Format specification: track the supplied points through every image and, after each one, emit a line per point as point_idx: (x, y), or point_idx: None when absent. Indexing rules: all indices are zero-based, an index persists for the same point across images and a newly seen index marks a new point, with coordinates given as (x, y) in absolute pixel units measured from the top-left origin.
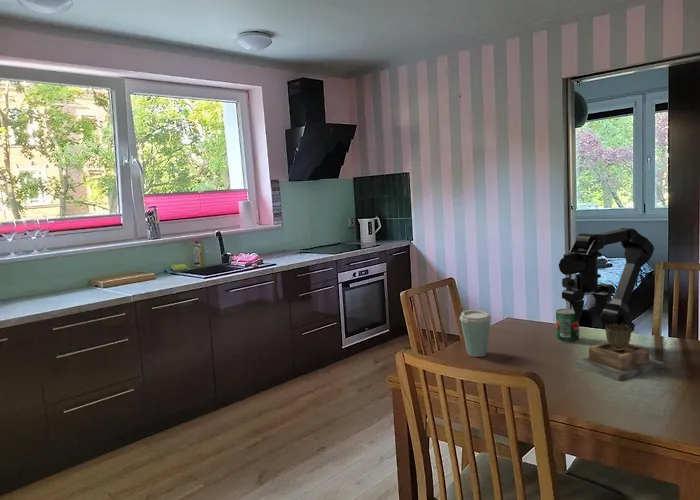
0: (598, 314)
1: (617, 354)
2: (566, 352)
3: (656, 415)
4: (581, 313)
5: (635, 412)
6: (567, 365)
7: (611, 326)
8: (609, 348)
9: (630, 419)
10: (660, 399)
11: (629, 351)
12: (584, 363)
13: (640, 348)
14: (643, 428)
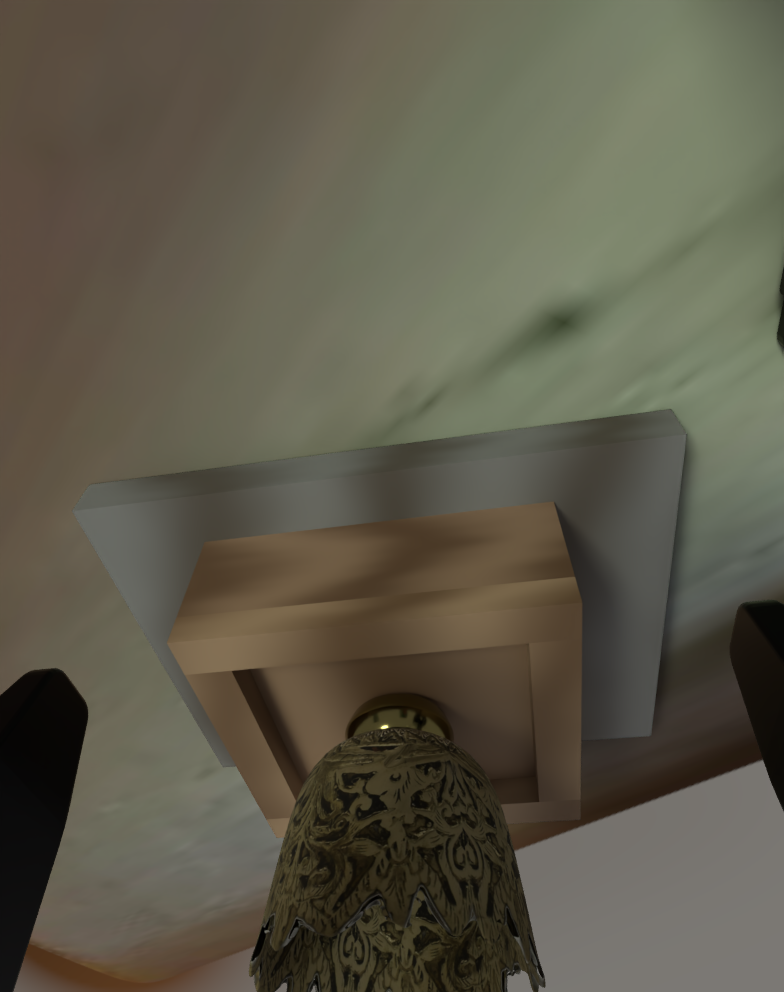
0: (738, 640)
1: (277, 812)
2: (191, 88)
3: (161, 915)
4: (23, 900)
5: (103, 894)
6: (25, 457)
7: (414, 893)
8: (382, 657)
9: (57, 909)
10: (267, 872)
11: (469, 746)
12: (126, 579)
13: (542, 796)
14: (66, 936)
